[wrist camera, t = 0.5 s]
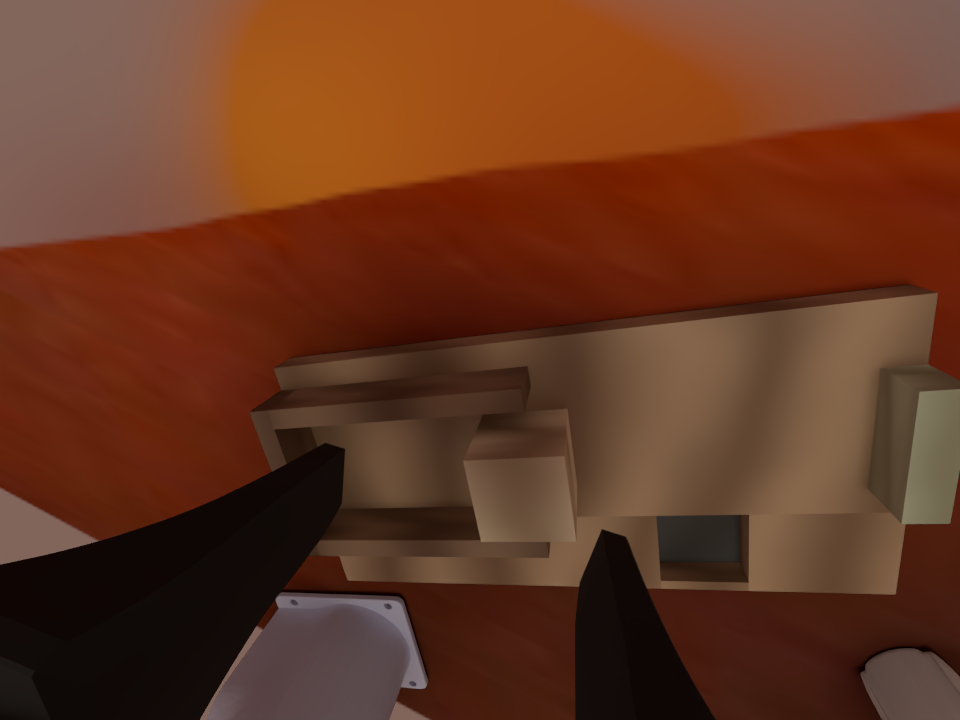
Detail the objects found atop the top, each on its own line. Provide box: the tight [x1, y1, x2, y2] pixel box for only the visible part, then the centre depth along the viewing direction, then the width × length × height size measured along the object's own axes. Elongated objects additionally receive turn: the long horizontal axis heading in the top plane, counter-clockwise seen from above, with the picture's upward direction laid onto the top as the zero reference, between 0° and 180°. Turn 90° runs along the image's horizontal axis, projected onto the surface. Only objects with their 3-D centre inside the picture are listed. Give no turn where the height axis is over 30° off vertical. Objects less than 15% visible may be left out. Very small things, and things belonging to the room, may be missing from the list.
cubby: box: [249, 366, 550, 558], centre depth 22 cm, size 13×8×2 cm, turn 101°
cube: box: [463, 409, 577, 542], centre depth 20 cm, size 4×4×4 cm
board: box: [274, 285, 960, 594], centre depth 22 cm, size 28×14×4 cm, turn 101°
